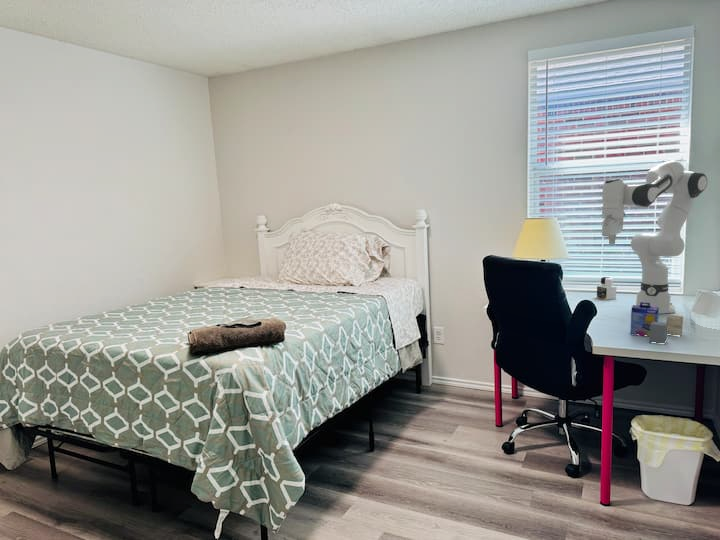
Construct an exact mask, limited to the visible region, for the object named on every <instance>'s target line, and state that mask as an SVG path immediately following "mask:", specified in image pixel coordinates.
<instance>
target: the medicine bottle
mask: <svg viewBox="0 0 720 540" xmlns="http://www.w3.org/2000/svg"><path fill="white" fill-rule="evenodd" d="M596 298H597V299H601V300H605V301H608V300H617V286H615V285H614V279H613V277H611V276H610V277H609V276H608V277H607V276H604V277H601V278H600V285H597V286H596Z"/></svg>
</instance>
